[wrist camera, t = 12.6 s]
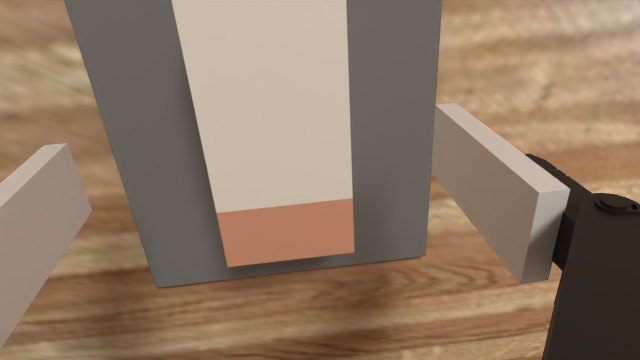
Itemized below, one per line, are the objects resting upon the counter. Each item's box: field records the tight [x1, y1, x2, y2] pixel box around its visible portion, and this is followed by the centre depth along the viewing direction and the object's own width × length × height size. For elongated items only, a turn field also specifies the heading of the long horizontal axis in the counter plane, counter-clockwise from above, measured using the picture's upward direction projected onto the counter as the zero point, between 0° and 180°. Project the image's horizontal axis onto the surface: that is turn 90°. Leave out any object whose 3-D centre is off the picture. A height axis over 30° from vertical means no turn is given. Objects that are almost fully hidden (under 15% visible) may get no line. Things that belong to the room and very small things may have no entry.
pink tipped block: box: [172, 0, 354, 267], centre depth 19 cm, size 12×6×5 cm, turn 4°
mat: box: [64, 0, 442, 288], centre depth 22 cm, size 17×22×1 cm
